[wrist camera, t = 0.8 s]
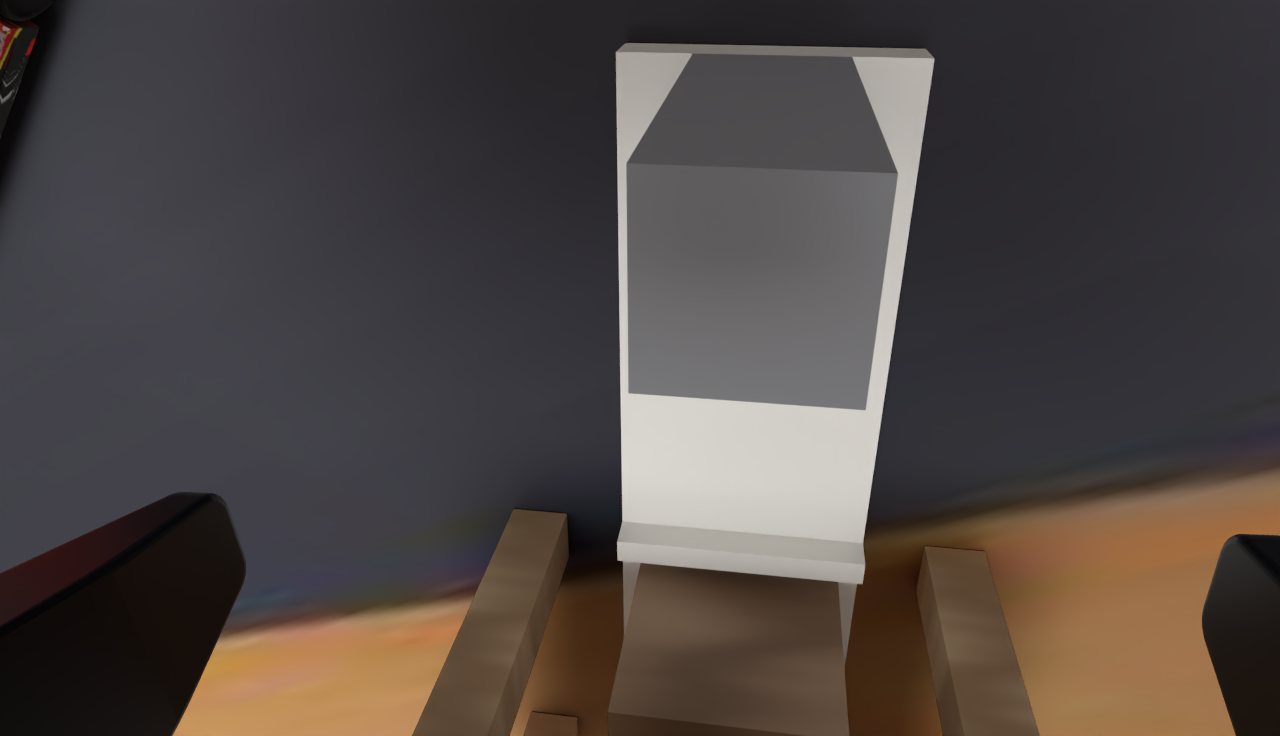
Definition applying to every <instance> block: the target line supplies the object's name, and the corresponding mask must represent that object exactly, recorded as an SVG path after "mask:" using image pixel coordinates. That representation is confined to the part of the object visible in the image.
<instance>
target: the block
mask: <svg viewBox="0 0 1280 736" xmlns="http://www.w3.org/2000/svg"><path fill="white" fill-rule="evenodd" d="M608 736H849V725H848V711H847V698H846V684H845V670H844V656H843V643H842V629H841V615H840V601H839V587H838V582H834V581H823V580H813V579H803V578H792V577H782V576H772V575H761V574H751V573H741V572H730V571H720V570H710V569H699V568H689V567H679V566H668V565H658V564H647V563H640V568H639V572H638V577H637V581H636V586H635V590H634V595H633V599H632V604H631V608H630V613H629V618H628V622H627V627H626V631H625V636H624V640H623V645H622V649H621V654H620V658H619V663H618V667H617V672H616V676H615V681H614V685H613V690H612V694H611V699H610V703H609V708H608Z"/></svg>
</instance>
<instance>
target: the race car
mask: <svg viewBox="0 0 1280 736" xmlns="http://www.w3.org/2000/svg"><path fill="white" fill-rule="evenodd" d="M54 1H55V0H0V139H1V136H2V133H3V130H4V127H5V125H6V122H7V119H8V116H9V113H10V110H11V108H12V105H13V102H14V99H15V96H16V93H17V91H18V88H19V85H20V82H21V79H22V76H23V74H24V71H25V68H26V65H27V62H28V59H29V57H30V54H31V51H32V48H33V45H34V43H35V40H36V37H37V34H38V31H39V28H40V27H38V26H37V25H35V24H34V23H33V22H31V21H30V20H28V19H31V18H33V17H36V16H38V15H39V14H41V13H42V12H43V11H44V10H46V9H47V8H48V7H50V6H51V5H52V3H53V2H54Z"/></svg>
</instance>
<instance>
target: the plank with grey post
mask: <svg viewBox="0 0 1280 736" xmlns="http://www.w3.org/2000/svg"><path fill="white" fill-rule="evenodd" d="M933 66H934V57H933V56H932V55H931V54H930V53H929V52H928V51H927V50H926V49H910V48H860V47H809V46H758V45H708V44H657V43H625V44H624V45H623V46H622V47H621V48H620V49H618V50H617V51H616V100H617V172H618V243H619V315H620V387H621V458H622V525H621V529H620V533H619V536H618V540H617V561H623V601H624V636H625V631H626V627H627V622H628V618H629V613H630V608H631V604H632V599H633V595H634V590H635V586H636V581H637V577H638V572H639V568H640V563H647V564H658V565H668V566H679V567H689V568H699V569H710V570H720V571H730V572H741V573H751V574H761V575H772V576H782V577H792V578H803V579H813V580H823V581H834V582H838V587H839V601H840V615H841V629H842V643H843V656H844V669H845V662H846V655H847V648H848V642H849V635H850V628H851V621H852V614H853V608H854V601H855V594H856V587H857V584H863V578H864V571H865V557H864V548H863V540H864V533H865V526H866V520H867V513H868V506H869V499H870V492H871V486H872V479H873V472H874V465H875V459H876V452H877V445H878V438H879V432H880V425H881V418H882V411H883V404H884V398H885V391H886V384H887V377H888V371H889V364H890V357H891V350H892V343H893V337H894V330H895V323H896V316H897V310H898V303H899V296H900V289H901V282H902V276H903V269H904V262H905V255H906V249H907V242H908V235H909V228H910V221H911V215H912V208H913V201H914V194H915V188H916V181H917V174H918V167H919V160H920V154H921V147H922V140H923V133H924V127H925V120H926V113H927V106H928V99H929V93H930V86H931V79H932V72H933Z"/></svg>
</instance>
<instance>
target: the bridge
mask: <svg viewBox="0 0 1280 736" xmlns="http://www.w3.org/2000/svg"><path fill="white" fill-rule="evenodd" d="M568 558H569V547H568V527H567V514H564V513H553V512H542V511H531V510H520V509H513V511H512V514H511V516H510V518H509V520H508V523H507V525H506V527H505V529H504V532H503V534H502V536H501V538H500V541H499V543H498V545H497V547H496V549H495V552H494V554H493V556H492V558H491V561H490V563H489V565H488V567H487V570H486V572H485V574H484V576H483V578H482V581H481V583H480V585H479V587H478V590H477V592H476V594H475V596H474V599H473V601H472V603H471V605H470V608H469V610H468V612H467V614H466V616H465V619H464V621H463V623H462V625H461V628H460V630H459V632H458V634H457V637H456V639H455V641H454V643H453V645H452V648H451V650H450V652H449V654H448V657H447V659H446V661H445V663H444V666H443V668H442V670H441V672H440V675H439V677H438V679H437V681H436V683H435V686H434V688H433V690H432V692H431V695H430V697H429V699H428V701H427V704H426V706H425V708H424V710H423V712H422V715H421V717H420V719H419V721H418V724H417V726H416V728H415V730H414V733H413V735H412V736H510V733H511V730H512V727H513V724H514V721H515V718H516V715H517V712H518V709H519V706H520V703H521V700H522V697H523V694H524V691H525V688H526V685H527V682H528V679H529V676H530V673H531V670H532V667H533V664H534V661H535V658H536V655H537V652H538V649H539V646H540V643H541V639H542V636H543V633H544V630H545V627H546V624H547V621H548V618H549V615H550V612H551V609H552V606H553V603H554V600H555V597H556V594H557V591H558V588H559V585H560V582H561V579H562V576H563V573H564V570H565V567H566V564H567V561H568ZM916 592H917V597H918V603H919V608H920V613H921V619H922V624H923V630H924V635H925V641H926V646H927V651H928V657H929V662H930V668H931V673H932V679H933V684H934V689H935V695H936V700H937V706H938V711H939V717H940V722H941V727H942V733H943V736H1040V735H1039V732H1038V728H1037V725H1036V722H1035V718H1034V715H1033V712H1032V708H1031V705H1030V702H1029V698H1028V695H1027V691H1026V688H1025V685H1024V681H1023V678H1022V675H1021V671H1020V668H1019V665H1018V661H1017V658H1016V655H1015V651H1014V648H1013V645H1012V641H1011V638H1010V635H1009V631H1008V628H1007V625H1006V621H1005V618H1004V615H1003V611H1002V608H1001V605H1000V601H999V598H998V595H997V591H996V588H995V585H994V581H993V578H992V575H991V571H990V568H989V565H988V561H987V558H986V554H985V552H984V551H973V550H962V549H951V548H940V547H929V546H925V547H924V552H923V557H922V562H921V568H920V573H919V578H918V584H917V589H916ZM524 736H578V725H577V717H569V716H561V715H553V714H544V713H536V712H531V713H530V716H529V720H528V723H527V726H526V729H525V732H524Z"/></svg>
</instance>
